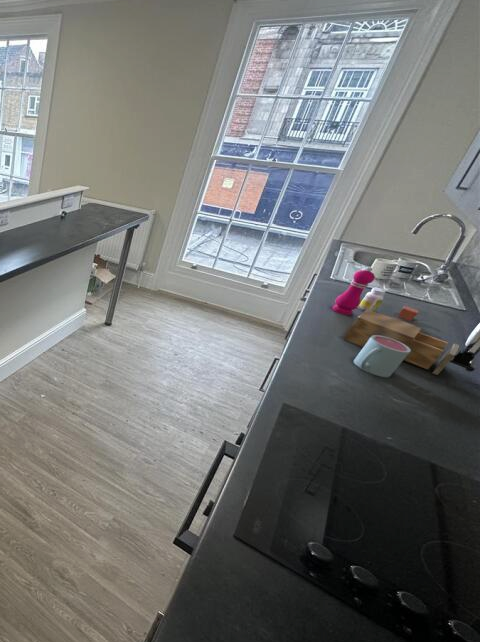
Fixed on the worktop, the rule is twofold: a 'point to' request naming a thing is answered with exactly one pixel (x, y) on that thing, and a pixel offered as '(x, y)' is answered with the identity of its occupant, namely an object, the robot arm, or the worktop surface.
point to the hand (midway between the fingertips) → (458, 364)
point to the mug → (381, 355)
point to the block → (408, 313)
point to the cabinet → (380, 329)
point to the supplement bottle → (372, 300)
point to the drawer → (433, 353)
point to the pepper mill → (353, 292)
